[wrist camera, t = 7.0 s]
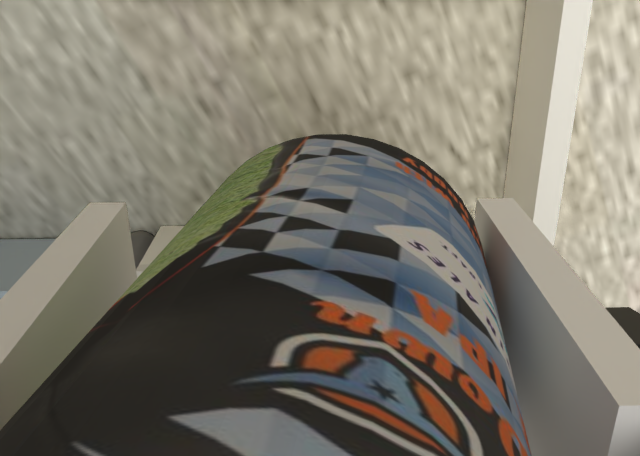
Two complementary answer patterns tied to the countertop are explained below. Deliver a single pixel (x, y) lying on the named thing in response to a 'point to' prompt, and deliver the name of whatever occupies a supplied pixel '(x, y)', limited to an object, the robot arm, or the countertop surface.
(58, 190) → the countertop surface
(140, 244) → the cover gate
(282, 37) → the countertop surface
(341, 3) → the countertop surface
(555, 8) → the grey low-walled frame
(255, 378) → the beverage can
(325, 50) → the countertop surface
